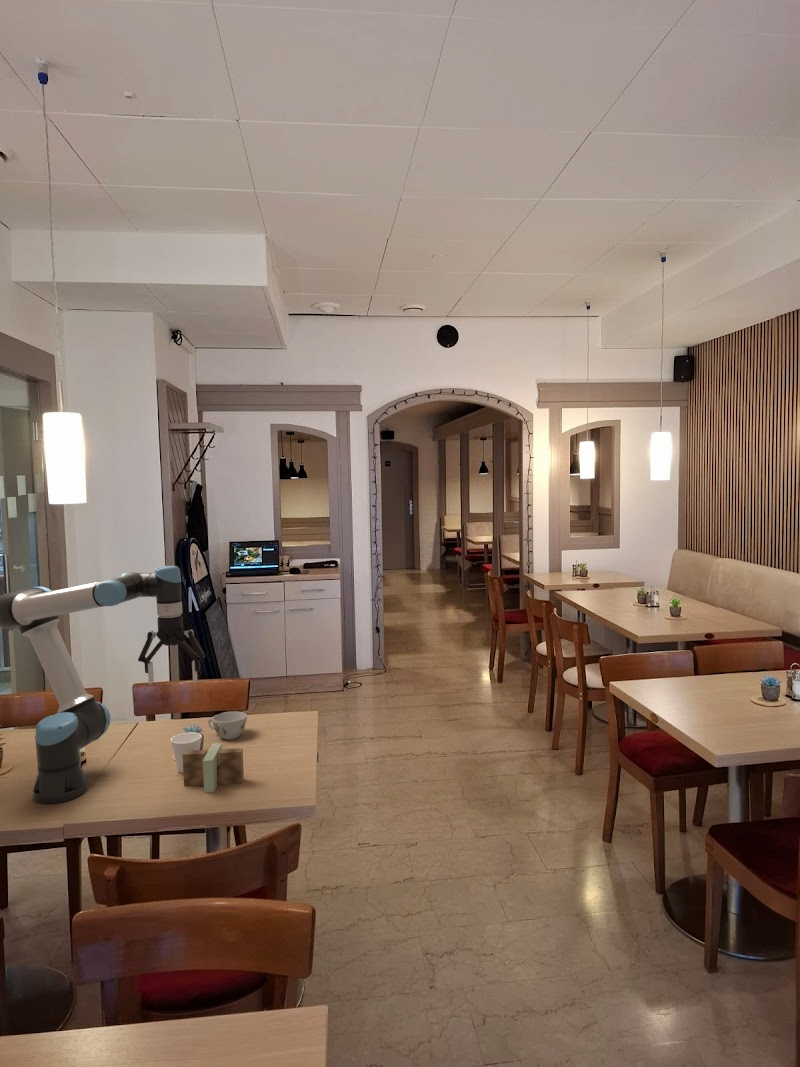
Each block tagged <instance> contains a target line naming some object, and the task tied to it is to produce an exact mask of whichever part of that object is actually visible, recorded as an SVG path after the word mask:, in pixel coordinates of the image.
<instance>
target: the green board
mask: <svg viewBox="0 0 800 1067" xmlns="http://www.w3.org/2000/svg"><path fill="white" fill-rule="evenodd" d="M221 749H223V743H222V742H216V743H215V742H213V743H212V744H211V746H210V747H209V748H208V750H207V754H206V756H205V757H204V759H203V779H204V785H203V793H215V791H216V788H217V787H218V784H217V767H218V765H219V752H220V750H221Z"/></svg>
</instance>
